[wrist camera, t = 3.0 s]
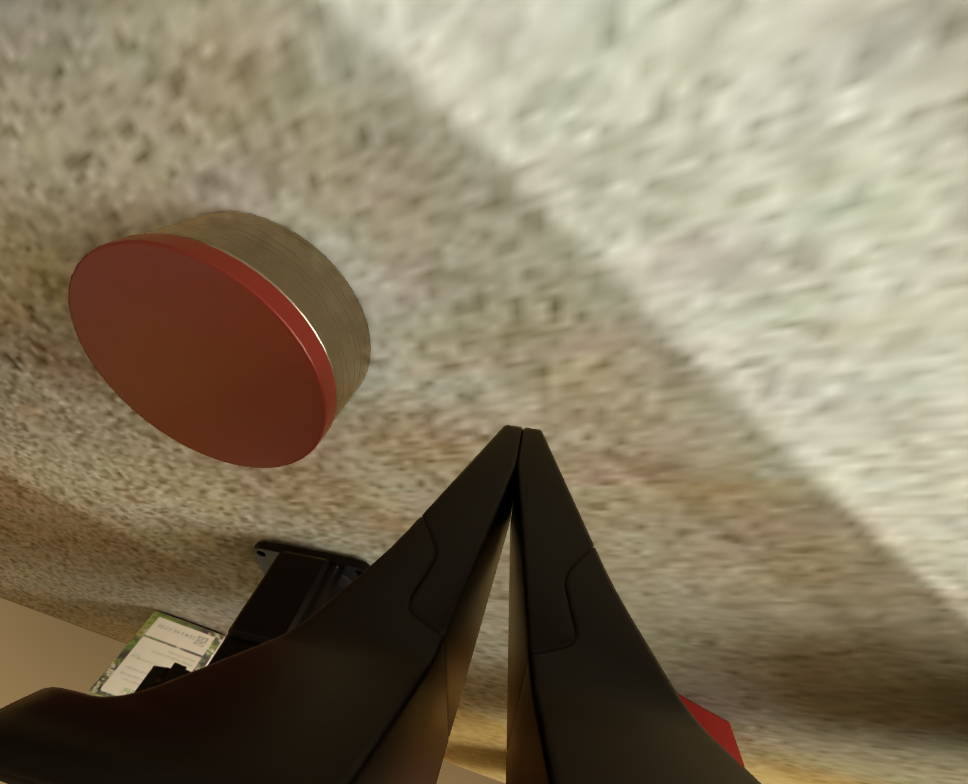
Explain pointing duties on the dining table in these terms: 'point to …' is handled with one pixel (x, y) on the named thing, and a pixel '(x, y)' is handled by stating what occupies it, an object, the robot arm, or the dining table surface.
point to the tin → (224, 335)
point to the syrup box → (157, 653)
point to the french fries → (715, 728)
